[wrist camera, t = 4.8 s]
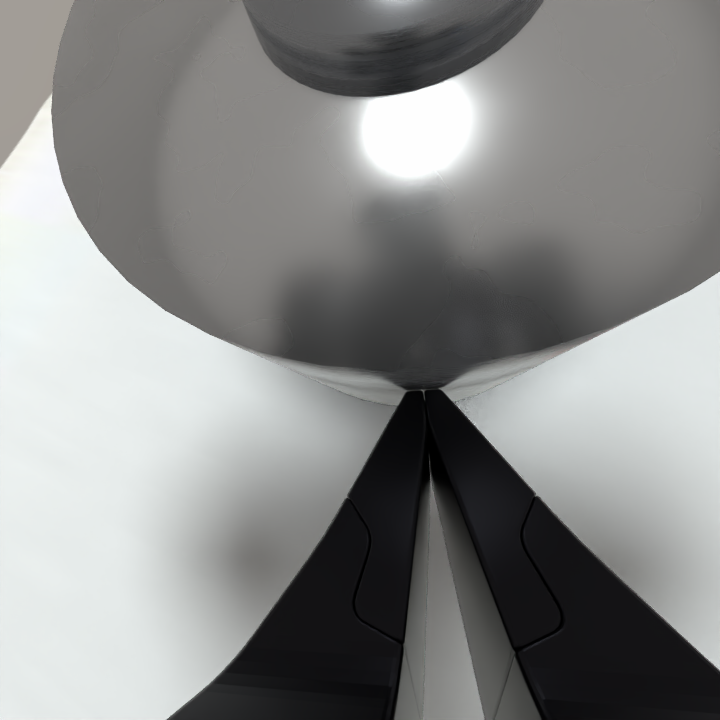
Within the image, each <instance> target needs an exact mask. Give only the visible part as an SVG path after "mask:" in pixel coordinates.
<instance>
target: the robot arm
mask: <svg viewBox="0 0 720 720" xmlns="http://www.w3.org/2000/svg"><path fill="white" fill-rule="evenodd" d="M429 462H430V465H429ZM430 472H431V480H432V486H433V491H434V495H435V500H436V504H437V509H438V513H439V517H440V522H441V526H442V531H443V535H444V540H445V544H446V549H447V553H448V558H449V562H450V566H451V571H452V575H453V580H454V584H455V589H456V593H457V598H458V602H459V606H460V611H461V615H462V620H463V624H464V629H465V633H466V638H467V642H468V647H469V651H470V655H471V660H472V664H473V669H474V673H475V678H476V682H477V687H478V691H479V695H480V700H481V704H482V709H483V713H484V718H485V720H720V670H719V669H718V668H716V667H715V666H714V665H713V664H712V663H711V662H710V661H709V660H708V659H707V658H705V657H704V656H703V655H702V654H701V653H700V652H699V651H698V650H697V649H696V648H695V647H694V646H692V645H691V644H690V643H689V642H688V641H687V640H686V639H685V638H684V637H683V636H682V635H681V634H679V633H678V632H677V631H676V630H675V629H674V628H673V627H672V626H671V625H670V624H669V623H668V622H667V621H665V620H664V619H663V618H662V617H661V616H660V615H659V614H658V613H657V612H656V611H655V610H654V609H652V608H651V607H650V606H649V605H648V604H647V603H646V602H645V601H644V600H643V599H642V598H641V597H639V596H638V595H637V594H636V593H635V592H634V591H633V590H632V589H631V588H630V587H629V586H628V585H626V584H625V583H624V582H623V581H622V580H621V579H620V578H619V577H618V576H617V575H616V574H615V573H614V572H612V571H611V570H610V569H609V568H608V567H607V566H606V565H605V564H604V563H603V562H602V561H601V560H600V559H599V558H598V557H597V556H596V555H595V554H594V553H593V552H592V551H590V550H589V549H588V548H587V547H586V546H585V545H584V544H583V543H582V542H581V541H580V540H579V539H578V538H577V537H576V536H575V535H574V534H573V533H572V532H571V531H570V530H569V528H568V527H567V526H566V525H565V524H564V523H563V522H562V521H561V520H560V519H559V518H558V517H557V516H556V515H555V514H554V513H553V512H552V510H551V509H550V508H549V507H548V506H547V505H546V504H545V503H544V502H543V500H542V499H541V498H540V497H539V496H536V493H535V492H534V491H533V490H532V489H531V487H530V486H529V485H528V484H527V483H526V482H525V481H524V480H523V479H522V478H521V476H520V475H519V474H518V473H517V472H516V471H515V470H514V469H513V468H512V466H511V465H510V464H509V463H508V462H507V461H506V460H505V459H504V458H503V457H502V455H501V454H500V453H499V452H498V451H497V450H496V449H495V448H494V447H493V446H492V444H491V443H490V442H489V441H488V440H487V439H486V438H485V437H484V436H483V435H482V433H481V432H480V431H479V430H478V429H477V428H476V427H475V426H474V425H473V423H472V422H471V421H470V420H469V419H468V418H467V417H466V416H465V415H464V414H463V412H462V411H461V410H460V409H459V408H458V407H457V406H456V405H455V404H454V403H453V401H452V400H451V399H450V398H449V397H448V396H447V395H446V394H445V393H444V392H443V390H441V389H430V390H425V391H424V394H423V391H421V390H414V391H406V392H405V394H404V395H403V397H402V399H401V401H400V403H399V404H398V406H397V408H396V410H395V411H394V413H393V415H392V417H391V419H390V420H389V422H388V424H387V426H386V427H385V429H384V431H383V433H382V435H381V436H380V438H379V440H378V442H377V443H376V445H375V447H374V449H373V450H372V452H371V454H370V456H369V458H368V459H367V461H366V463H365V465H364V466H363V468H362V470H361V472H360V474H359V475H358V477H357V479H356V481H355V482H354V484H353V486H352V488H351V490H350V491H349V493H348V495H347V497H348V498H346V499H345V500H344V502H343V503H342V505H341V507H340V509H339V511H338V512H337V514H336V516H335V517H334V519H333V521H332V522H331V524H330V526H329V527H328V529H327V531H326V532H325V534H324V536H323V537H322V539H321V540H320V542H319V543H318V545H317V546H316V547H315V549H314V550H313V552H312V553H311V555H310V556H309V558H308V559H307V561H306V562H305V564H304V565H303V566H302V568H301V569H300V570H299V572H298V573H297V575H296V576H295V577H294V579H293V580H292V582H291V583H290V584H289V586H288V587H287V588H286V590H285V591H284V593H283V594H282V595H281V597H280V598H279V599H278V601H277V602H276V604H275V605H274V606H273V608H272V609H271V611H270V612H269V613H268V615H267V616H266V617H265V619H264V620H263V622H262V623H261V624H260V626H259V627H258V629H257V630H256V631H255V633H254V634H253V635H252V637H251V638H250V639H249V641H248V642H247V643H246V645H245V646H244V647H243V649H242V650H241V651H240V652H239V653H238V655H237V656H236V657H235V658H234V659H233V660H232V661H231V663H230V664H229V665H228V666H227V667H226V668H225V669H224V670H223V671H222V672H221V673H220V674H219V675H218V676H217V677H216V678H215V679H214V680H213V681H212V682H211V683H210V684H209V685H207V686H206V687H205V688H204V689H203V690H202V691H201V692H199V693H198V694H197V695H196V696H194V697H193V698H192V699H191V700H190V701H188V702H187V703H186V704H185V705H184V706H182V707H181V708H180V709H179V710H177V711H176V712H175V713H174V714H173V715H171V716H170V717H169V718H168V719H167V720H423V700H424V670H425V639H426V609H427V578H428V548H429V517H430ZM535 496H536V497H535Z"/></svg>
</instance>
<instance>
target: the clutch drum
mask: <svg viewBox="0 0 720 720" xmlns="http://www.w3.org/2000/svg"><path fill="white" fill-rule="evenodd" d="M51 114H52V126H53V138H54V148H55V152H56V156H57V160H58V165H59V169H60V173H61V177H62V181H63V184H64V186H65V189H66V191H67V193H68V196H69V198H70V200H71V203H72V205H73V207H74V210H75V212H76V214H77V217H78V219H79V220H80V222H81V223H82V225H83V226H84V228H85V229H86V231H87V232H88V234H89V236H90V237H91V239H92V240H93V242H94V243H95V245H96V246H97V248H98V249H99V251H100V252H101V253H102V254H103V255H104V256H105V257H106V258H107V260H108V261H109V262H110V263H111V264H112V265H113V266H114V267H115V268H116V269H117V270H118V271H119V272H120V274H121V275H122V276H123V277H124V278H125V279H126V280H127V281H128V282H129V283H130V284H132V285H133V286H134V287H135V288H137V289H138V290H139V291H141V292H142V293H143V294H145V295H146V296H147V297H148V298H150V299H151V300H152V301H154V302H155V303H156V304H157V305H159V306H160V307H161V308H163V309H164V310H165V311H167V312H169V313H171V314H173V315H175V316H176V317H178V318H180V319H182V320H184V321H186V322H188V323H189V324H191V325H193V326H195V327H197V328H199V329H201V330H202V331H204V332H206V333H208V334H210V335H212V336H214V337H217V338H219V339H221V340H224V341H226V342H228V343H230V344H233V345H235V346H237V347H240V348H242V349H244V350H246V351H249V352H251V353H253V354H256V355H258V356H260V357H262V358H265V359H267V360H269V361H272V362H274V363H276V364H278V365H281V366H283V367H285V368H288V369H290V370H292V371H294V372H297V373H299V374H301V375H304V376H306V377H308V378H310V379H313V380H315V381H317V382H320V383H322V384H324V385H326V386H329V387H331V388H333V389H336V390H338V391H340V392H342V393H345V394H348V395H351V396H353V397H356V398H359V399H362V400H366V401H370V402H375V403H379V404H384V405H394V406H398V404H399V403H400V401H401V399H402V397H403V395H404V394H405V392H406V391H414V390H421V391H423V394H424V391H425V390H430V389H441V390H443V392H444V393H445V394H446V395H447V396H448V397H449V398H450V399H451V400H452V401H453V402H455V401H458V400H462V399H465V398H468V397H471V396H474V395H477V394H480V393H482V392H484V391H487V390H489V389H491V388H493V387H495V386H497V385H499V384H501V383H504V382H506V381H508V380H510V379H512V378H514V377H516V376H518V375H520V374H522V373H524V372H526V371H528V370H530V369H532V368H534V367H536V366H538V365H540V364H542V363H544V362H546V361H548V360H550V359H552V358H554V357H556V356H558V355H560V354H562V353H564V352H566V351H568V350H570V349H573V348H575V347H577V346H579V345H581V344H583V343H585V342H587V341H589V340H591V339H593V338H595V337H597V336H599V335H601V334H603V333H605V332H607V331H609V330H611V329H613V328H615V327H617V326H619V325H621V324H623V323H625V322H627V321H629V320H631V319H633V318H635V317H637V316H639V315H641V314H644V313H646V312H648V311H650V310H652V309H654V308H656V307H658V306H660V305H662V304H664V303H666V302H668V301H670V300H672V299H674V298H676V297H678V296H680V295H682V294H684V293H686V292H688V291H690V290H691V289H693V288H695V287H696V286H698V285H699V284H701V283H702V282H704V281H706V280H707V279H709V278H710V277H712V276H713V275H715V274H716V273H718V272H720V0H75V1H74V3H73V5H72V8H71V11H70V14H69V17H68V20H67V23H66V26H65V29H64V32H63V35H62V38H61V42H60V46H59V51H58V57H57V61H56V67H55V72H54V77H53V93H52V109H51Z"/></svg>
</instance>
